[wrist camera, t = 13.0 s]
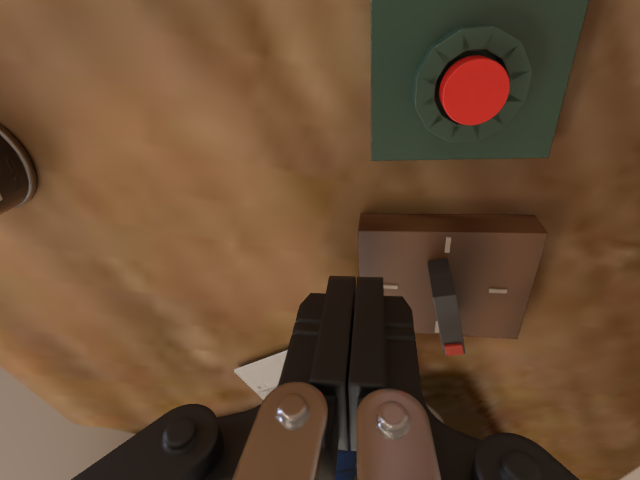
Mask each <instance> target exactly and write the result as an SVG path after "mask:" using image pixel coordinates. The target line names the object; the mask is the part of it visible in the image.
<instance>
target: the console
mask: <svg viewBox="0 0 640 480" xmlns="http://www.w3.org/2000/svg"><path fill="white" fill-rule="evenodd" d="M547 235H548V233H547V232H546V230H545V229H544V227H543V226H542V225H541V223H540V222H539V220H538V219H537V218H536V216H535V215H472V214H360V221H359V229H358V247H359V277H383V283H384V296H403V298H404V299H405V300H406V302H407V303H408V305H409V306H410V308H411V309H412V313H413V322H414V331H415V333H425V334H440V332H439V327H438V322H437V317H436V312H435V307H434V302H433V296H432V290H431V284H430V277H429V271H428V265H427V262H428V261H434V260H441V259H448V263H449V267H450V271H451V275H452V279H453V283H454V288H455V292H456V296H457V303H458V309H459V316H460V322H461V328H462V335H463V336H475V337H492V338H509V339H517V338H518V335H519V331H520V328H521V324H522V321H523V318H524V314H525V311H526V307H527V304H528V300H529V297H530V294H531V290H532V287H533V283H534V280H535V276H536V273H537V270H538V266H539V263H540V259H541V256H542V252H543V249H544V246H545V242H546V239H547Z"/></svg>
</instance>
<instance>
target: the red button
mask: <svg viewBox="0 0 640 480" xmlns="http://www.w3.org/2000/svg"><path fill="white" fill-rule="evenodd" d="M509 90H510V81H509V77H508V74H507V72H506V70H505V69H504V67H503V66H502V65H501V64H499V63H498V62H496V61H494V60H492V59H490V58H488V57H485V56H481V55H472V56H467V57H464V58H462V59H460V60H458V61H457V62H455V63H454V64H453V65H452V66H451V67H450V68H449V69H448V70H447V71H446V73H445V74H444V76H443V78H442V80H441V83H440V88H439V98H440V102H441V104H442V106H443V108H444V110H445V111H446V113H447V115H448V116H449V117H450V118H451V119H452V120H454V121H455V122H457V123H459V124H463V125H477V124H481V123H484V122H486V121H488V120H490V119H491V118H493V117H494V116H495V115H496V114H497V113H498V112H499V111H500V110H501V109H502V107H503V106H504V104H505V102H506V101H507V98H508V95H509Z"/></svg>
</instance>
